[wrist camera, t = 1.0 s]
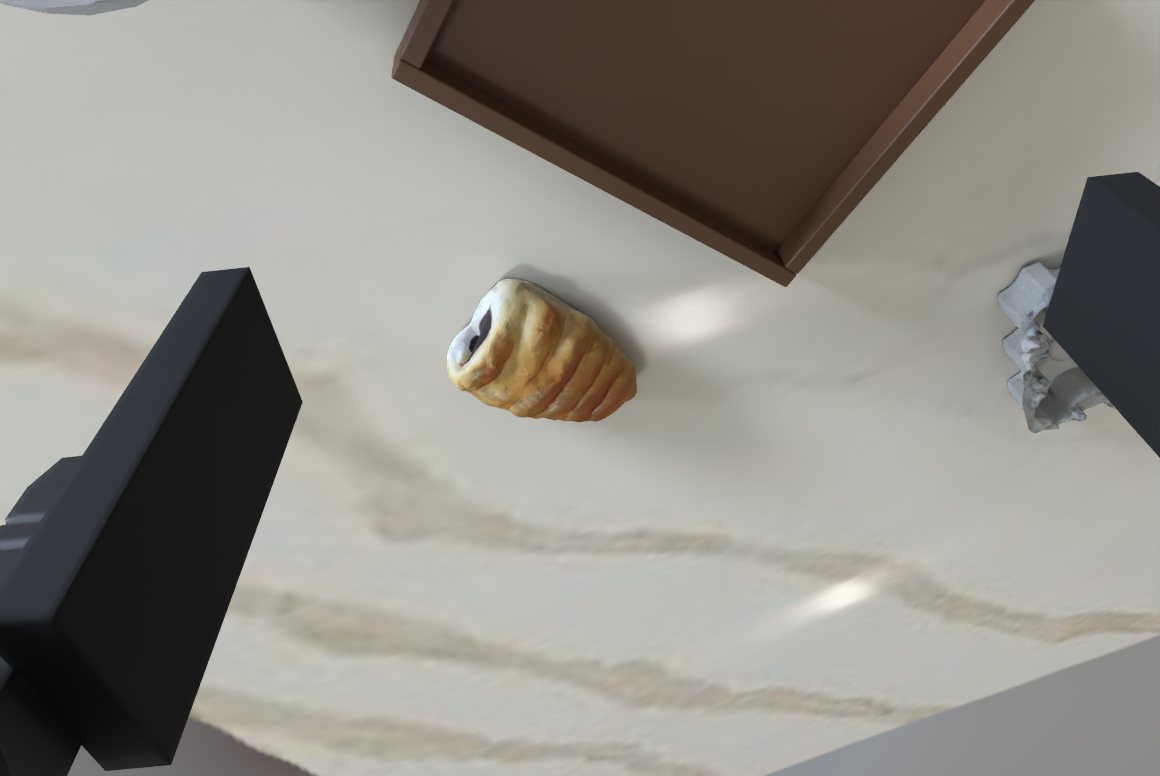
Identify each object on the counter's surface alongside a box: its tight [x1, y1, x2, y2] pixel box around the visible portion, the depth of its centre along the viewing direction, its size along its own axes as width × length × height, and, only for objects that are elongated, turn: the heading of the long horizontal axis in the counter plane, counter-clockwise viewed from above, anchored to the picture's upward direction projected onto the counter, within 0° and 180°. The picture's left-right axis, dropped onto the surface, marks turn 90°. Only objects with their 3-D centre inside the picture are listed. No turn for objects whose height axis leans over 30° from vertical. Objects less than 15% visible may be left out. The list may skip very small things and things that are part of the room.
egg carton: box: [998, 262, 1117, 433], centre depth 43 cm, size 11×8×4 cm
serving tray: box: [392, 0, 1035, 287], centre depth 30 cm, size 17×20×2 cm
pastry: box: [447, 279, 637, 422], centre depth 40 cm, size 9×7×4 cm
